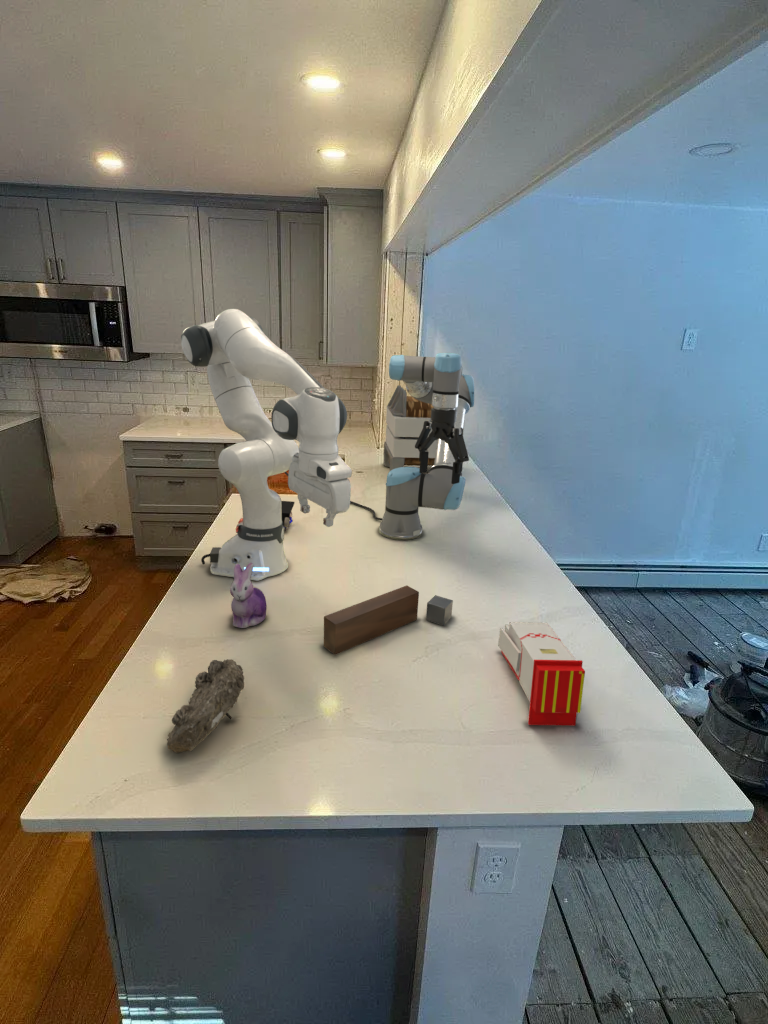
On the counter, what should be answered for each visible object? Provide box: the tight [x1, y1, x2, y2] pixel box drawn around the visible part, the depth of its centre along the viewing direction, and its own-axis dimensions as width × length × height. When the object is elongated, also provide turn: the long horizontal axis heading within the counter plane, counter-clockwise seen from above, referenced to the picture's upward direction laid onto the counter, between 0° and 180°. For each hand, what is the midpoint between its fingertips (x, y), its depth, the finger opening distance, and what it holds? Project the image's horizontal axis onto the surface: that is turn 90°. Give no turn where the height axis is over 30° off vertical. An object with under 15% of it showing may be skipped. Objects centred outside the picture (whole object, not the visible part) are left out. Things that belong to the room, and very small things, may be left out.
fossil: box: [166, 658, 245, 754], centre depth 106 cm, size 22×10×15 cm
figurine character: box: [281, 500, 295, 533], centre depth 201 cm, size 7×8×15 cm
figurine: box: [229, 563, 268, 629], centre depth 139 cm, size 9×10×15 cm
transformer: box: [383, 384, 465, 472], centre depth 268 cm, size 34×33×41 cm
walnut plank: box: [323, 585, 420, 656], centre depth 137 cm, size 4×26×8 cm, turn 131°
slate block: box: [425, 594, 454, 626], centre depth 145 cm, size 5×5×5 cm
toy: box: [497, 621, 586, 727], centre depth 121 cm, size 12×13×30 cm
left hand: (316, 518), depth 133 cm, fingers open, 8 cm apart
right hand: (438, 477), depth 173 cm, fingers open, 13 cm apart
